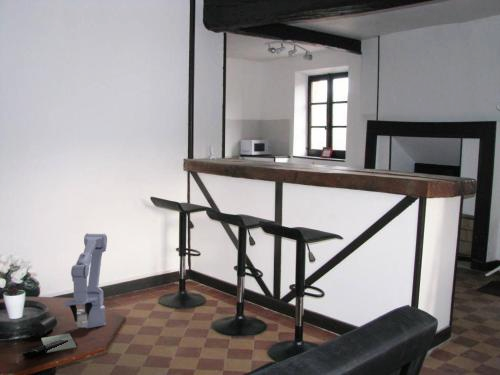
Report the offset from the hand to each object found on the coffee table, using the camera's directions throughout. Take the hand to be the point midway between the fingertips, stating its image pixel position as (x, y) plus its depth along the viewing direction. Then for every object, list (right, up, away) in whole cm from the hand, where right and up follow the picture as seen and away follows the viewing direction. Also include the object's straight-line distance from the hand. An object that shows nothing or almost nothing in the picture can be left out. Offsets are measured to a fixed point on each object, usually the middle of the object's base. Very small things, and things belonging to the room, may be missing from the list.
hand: (81, 320), depth 227 cm
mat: (-8, -9, -5) cm, 13 cm away
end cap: (-19, -8, +6) cm, 21 cm away
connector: (+1, -2, -1) cm, 2 cm away
